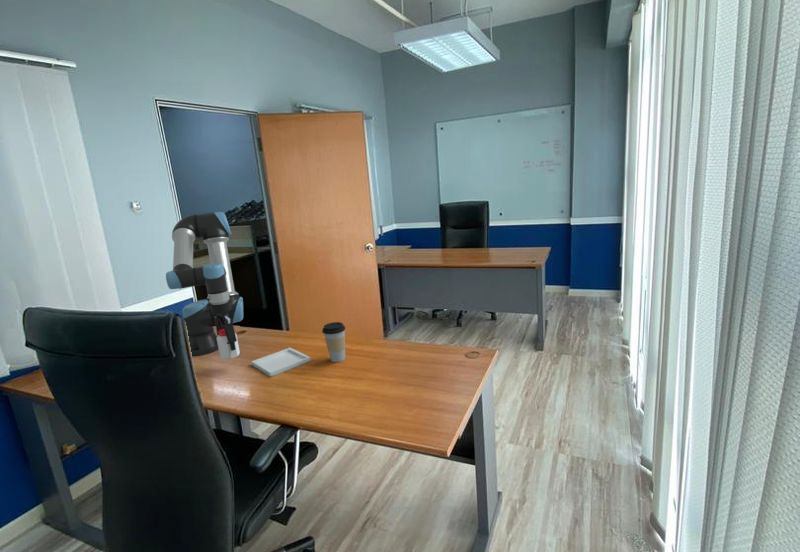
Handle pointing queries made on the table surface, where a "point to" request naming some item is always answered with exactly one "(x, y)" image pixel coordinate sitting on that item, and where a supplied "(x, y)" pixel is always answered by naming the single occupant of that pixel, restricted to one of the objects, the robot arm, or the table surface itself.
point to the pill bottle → (225, 345)
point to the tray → (280, 361)
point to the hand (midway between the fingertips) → (230, 354)
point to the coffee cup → (335, 340)
